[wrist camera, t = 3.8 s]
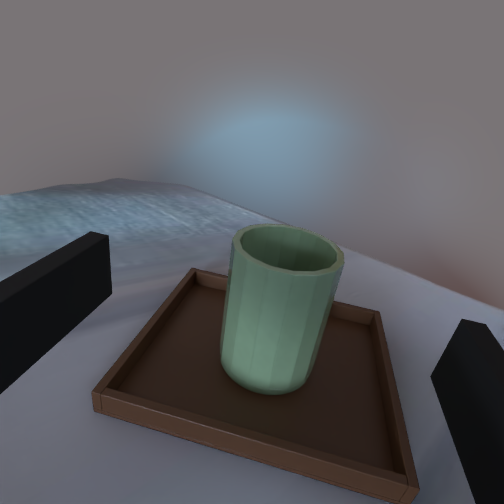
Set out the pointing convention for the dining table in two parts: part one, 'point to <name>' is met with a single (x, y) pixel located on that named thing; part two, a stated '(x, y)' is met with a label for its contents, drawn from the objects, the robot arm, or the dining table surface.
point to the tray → (269, 406)
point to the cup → (277, 305)
